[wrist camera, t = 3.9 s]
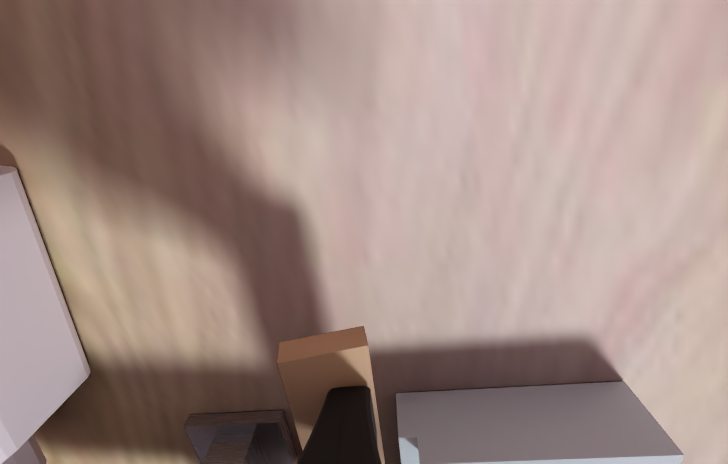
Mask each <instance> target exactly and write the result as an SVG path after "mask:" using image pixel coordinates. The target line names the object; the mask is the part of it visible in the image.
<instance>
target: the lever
mask: <svg viewBox="0 0 728 464" xmlns="http://www.w3.org/2000/svg"><path fill="white" fill-rule="evenodd" d="M277 365H278V369H279V372H280V375H281V379H282V382H283V386H284V389H285V392H286V396H287V399H288V403H289V406H290V410H291V413H292V416H293V420H294V423H295V427H296V430H297V433H298V437H299V440H300V444H301V447H302V450H303V449H304V447H305V445H306V443H307V441H308V439H309V437H310V435H311V433H312V430H313V428H314V426H315V424H316V421H317V419H318V417H319V414H320V412H321V409H322V407H323V404H324V402H325V399H326V396H327V393H328V392H329V391H330V390H331V389H332V388H338V387H352V386H367V387H369V388H370V389H371V396H372V403H373V409H374V416H375V423H376V430H377V446H378V451H379V455H380V459H381V463H382V464H385V460H384V453H383V446H382V439H381V432H380V425H379V418H378V411H377V404H376V397H375V390H374V383H373V376H372V369H371V362H370V355H369V348H368V342H367V338H366V334H365V329H364V326H361V327H355V328H350V329H345V330H340V331H335V332H330V333H324V334H319V335H314V336H309V337H304V338H298V339H293V340H288V341H283V342H279V350H278V359H277Z"/></svg>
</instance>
